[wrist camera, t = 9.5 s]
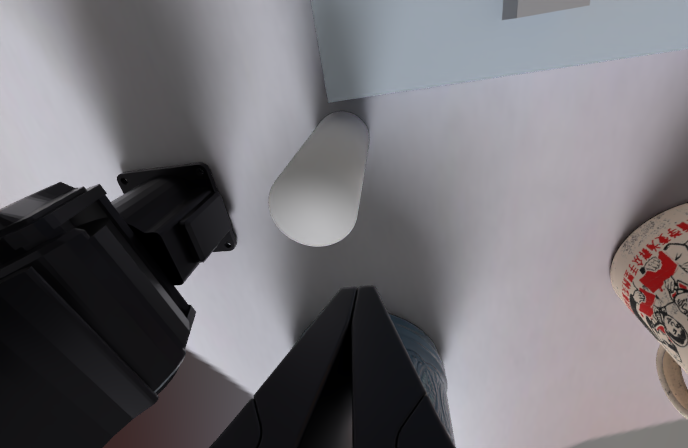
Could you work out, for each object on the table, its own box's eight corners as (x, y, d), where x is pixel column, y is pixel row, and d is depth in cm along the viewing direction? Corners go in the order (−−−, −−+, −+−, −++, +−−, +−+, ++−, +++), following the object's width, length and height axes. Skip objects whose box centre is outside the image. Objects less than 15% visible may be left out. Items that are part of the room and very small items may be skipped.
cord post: (321, 168, 20) (281, 249, 13) (310, 115, 19) (257, 171, 11) (372, 162, 20) (363, 243, 12) (365, 107, 18) (350, 160, 11)
